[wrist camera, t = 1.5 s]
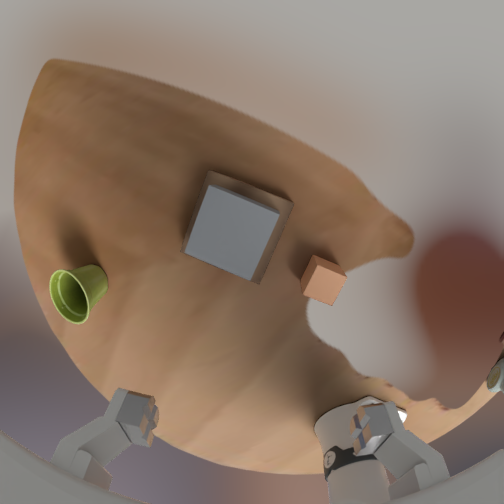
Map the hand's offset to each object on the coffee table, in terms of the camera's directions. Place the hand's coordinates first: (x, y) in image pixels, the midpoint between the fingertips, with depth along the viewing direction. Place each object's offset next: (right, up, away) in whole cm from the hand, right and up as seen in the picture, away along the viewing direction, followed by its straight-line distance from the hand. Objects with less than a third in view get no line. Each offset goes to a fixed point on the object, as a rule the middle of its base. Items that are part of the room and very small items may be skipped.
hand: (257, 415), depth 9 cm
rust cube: (+10, +3, +31) cm, 32 cm away
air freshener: (+64, -24, +33) cm, 77 cm away
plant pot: (-29, +1, +35) cm, 45 cm away
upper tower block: (-3, +9, +27) cm, 29 cm away
